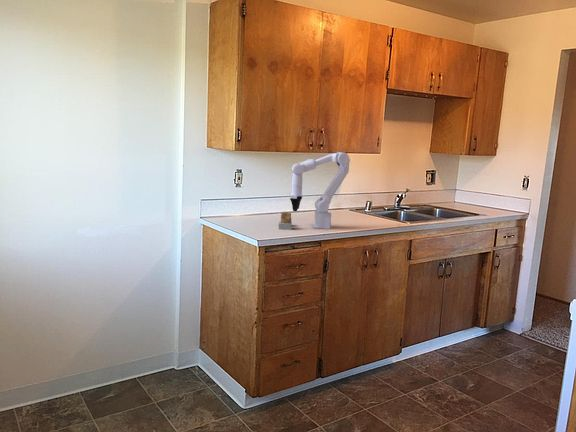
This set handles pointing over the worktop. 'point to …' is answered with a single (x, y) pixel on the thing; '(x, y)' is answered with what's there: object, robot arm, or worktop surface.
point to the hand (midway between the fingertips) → (295, 210)
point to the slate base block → (285, 226)
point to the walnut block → (286, 217)
